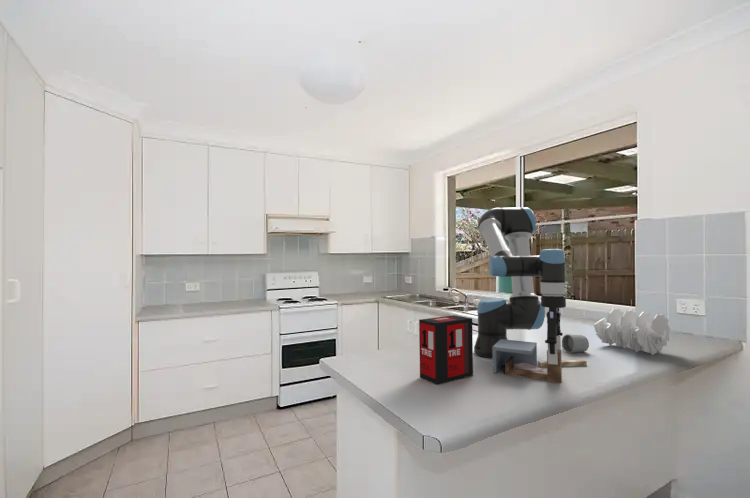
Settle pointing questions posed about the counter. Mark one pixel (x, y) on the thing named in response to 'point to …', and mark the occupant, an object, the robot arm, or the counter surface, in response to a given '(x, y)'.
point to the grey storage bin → (513, 353)
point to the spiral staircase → (634, 330)
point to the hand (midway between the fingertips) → (554, 359)
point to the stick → (565, 363)
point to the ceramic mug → (575, 343)
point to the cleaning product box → (446, 348)
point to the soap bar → (527, 367)
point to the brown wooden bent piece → (552, 371)
